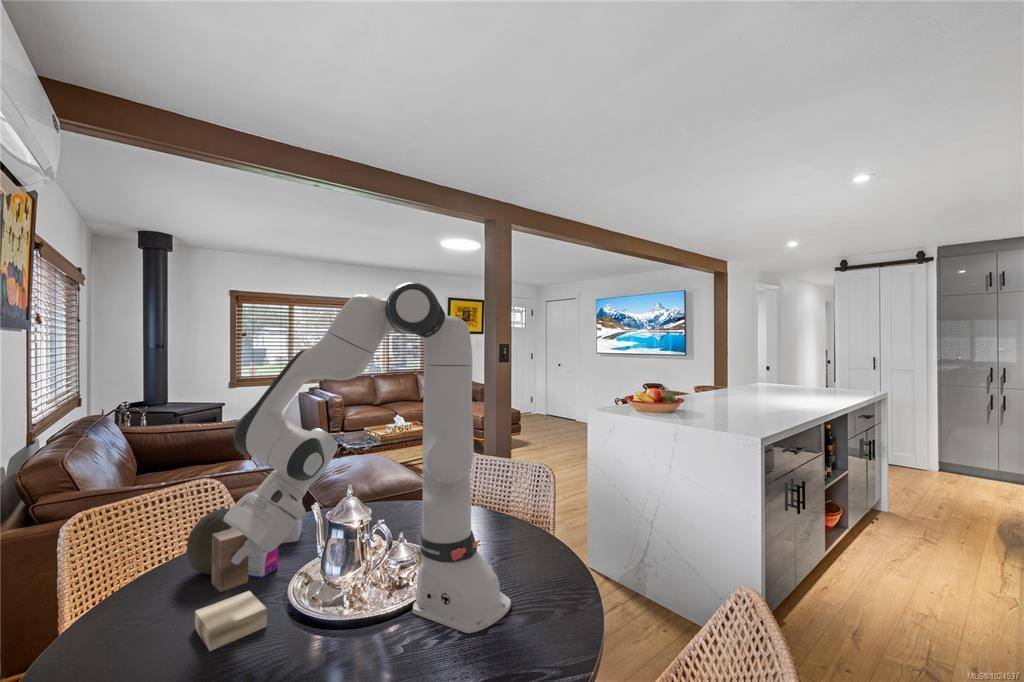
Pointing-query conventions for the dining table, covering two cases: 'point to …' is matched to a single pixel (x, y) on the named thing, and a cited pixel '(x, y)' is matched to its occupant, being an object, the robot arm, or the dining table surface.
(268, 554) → the supplement box
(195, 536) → the cantaloupe
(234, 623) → the beech block
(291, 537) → the small box
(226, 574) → the walnut block
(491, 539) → the dining table surface
